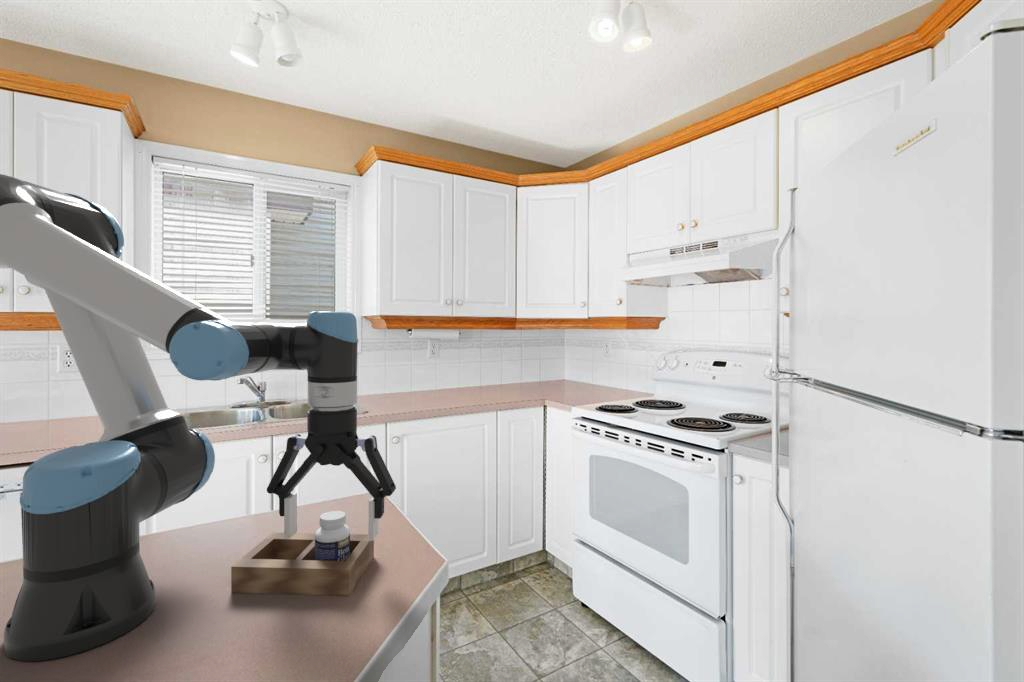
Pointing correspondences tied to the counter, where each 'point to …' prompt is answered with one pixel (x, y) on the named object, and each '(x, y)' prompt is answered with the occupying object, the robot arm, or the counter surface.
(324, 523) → the pill bottle
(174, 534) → the counter surface
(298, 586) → the socket board
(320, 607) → the counter surface
